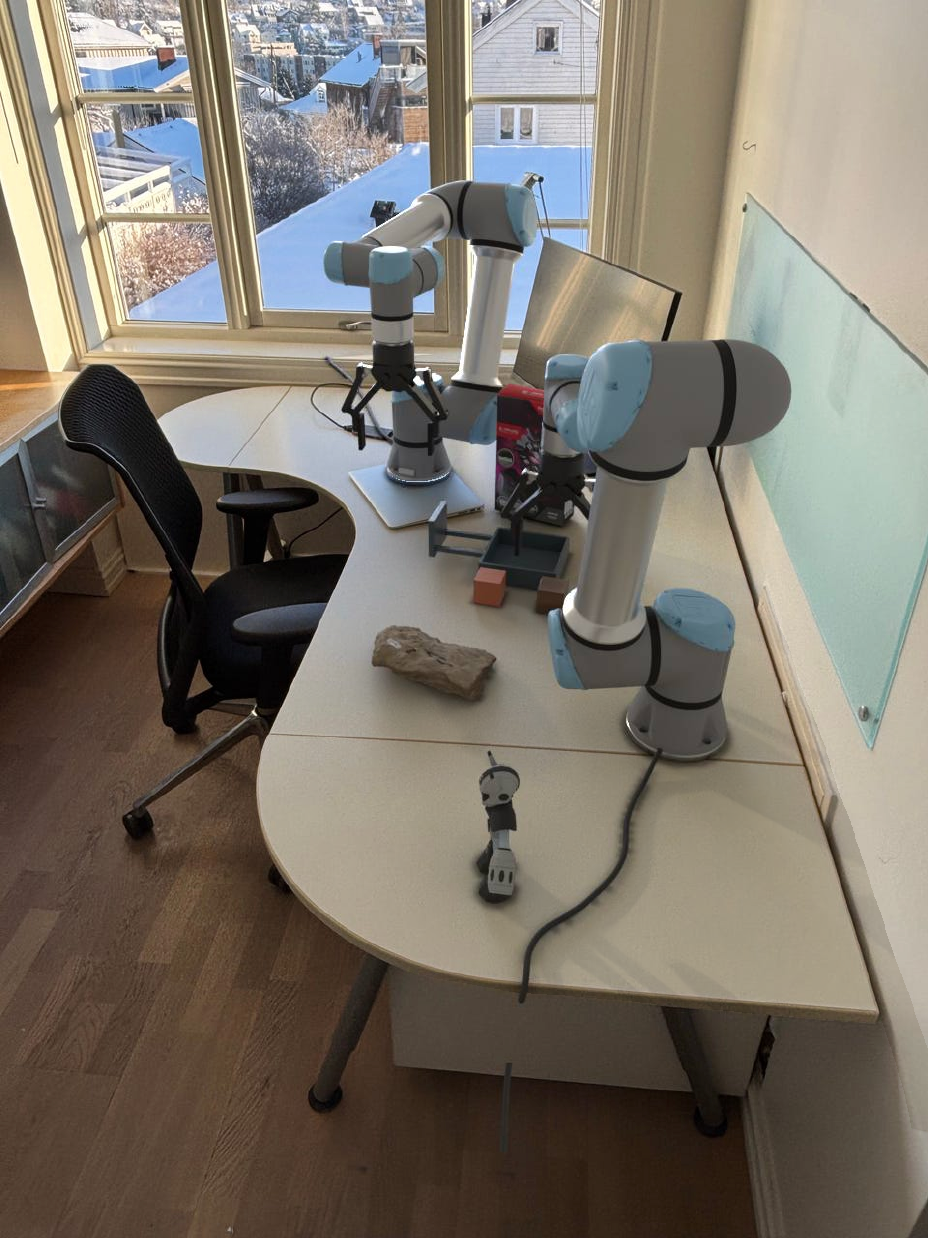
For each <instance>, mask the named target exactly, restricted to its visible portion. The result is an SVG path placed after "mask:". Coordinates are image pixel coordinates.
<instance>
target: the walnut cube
mask: <svg viewBox="0 0 928 1238" xmlns="http://www.w3.org/2000/svg"><path fill="white" fill-rule="evenodd" d="M569 587H570V579H564V578H560V579H558V578H552V577H545V576H543V577H542V579H541V582H540V585H539V587H538V590H537V589H536V606H535V613H537V614H544V615H548V613H549V612H550V611H552V610H556V609H558V608H560V609H561V610H562V609H563V604H564V601H565V599H566V597H567V596H568V594H569Z"/></svg>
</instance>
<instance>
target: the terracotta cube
mask: <svg viewBox="0 0 928 1238" xmlns="http://www.w3.org/2000/svg"><path fill="white" fill-rule="evenodd" d="M478 569H479V568H478ZM506 586H507V585H506V571H504V570H497V569H490V568H483V567H480V569H479V571H478V570H477V573H476V575H475V576H474V579H473V595H472V597H473V598H472V599H473V600H472V602H473V603H474V604H479V605H485V606H492V607H498V608H500V606H501V603H502V601H503V600H504V597H505V594H506Z"/></svg>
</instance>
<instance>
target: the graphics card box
mask: <svg viewBox="0 0 928 1238" xmlns="http://www.w3.org/2000/svg"><path fill="white" fill-rule="evenodd" d="M544 390H545V389H541V388H535V387H532V386H531V387H530V386H526V385H525V386H524V385H521V384H520V385H519V384H515V383H508V384H506V385H505V386H503V389H502V390H501V391H500V392H499V393H498V394H497V430H496V441H495V477H494V511H498V512H502V510H503V508H504V507H505V505H506V503H507V502H508V500H509V499H510V497H511V495H512V494H513V492H514V491H515V489H516V487H517V486H518V484H519V482H520V476H521V474H522V472H523V470H524V469H525V468H529V469H530V471H531V472H535V473H539V470H540V455H541V449H542V447H541V437H542V423H543V410H544ZM539 488H540V486H539V485H538V483H537V482H536V480H534V481H532V483H531V484H527V485H526V487H525V489H524V491H523V492H522V494H521V495H520V497H519V498H518V500H517V502H516V503H515V505H514V506H513V508H512V509H511V510H513V511H514V510H516V509H517V508H518V507H520V506H521V505H522V504H523V503H524V502H525V501H526V500H527V499H529V498H530V497H531V496H532V495H533V494H534V493H535V492H536V491H537V490H538V489H539ZM575 507H576V506H575V505H574V504H573V503H572V501H571V500H570V501H568V502H562V501H560V500H555V501H553V500H550V499H549V498H547V497H545V498H544V499H543V500H541V501H540V502H538V503H537V504H536V505H535V506H534V507H533V508H531V509H530V510H529V511H528V512H527V513H526V514H525V515H524V516H522V518H527V519H531V520H535V521H539V522H543V523H548V524H552V525H556V526H559V527H560V526H561V527H563V526H565V525H566V524H567V522H568V521H570V520H571V518H573V516H574V515H575Z"/></svg>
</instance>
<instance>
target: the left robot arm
mask: <svg viewBox="0 0 928 1238" xmlns="http://www.w3.org/2000/svg"><path fill="white" fill-rule="evenodd" d="M537 232H538V208H537V204H536V199H535V196H534V194H533V192H532V191H531V189H530V188H528V187H527V186H524V185H520V184H513V183H510V182H492V181H478V180H477V181H476V180H475V181H474V180H466V179H463V180H455V181H452V182H447V183H445V184H441V185H439V186H436V187H434V188H432V189H429V190H428V191H425V192H424V193H421V195H419V196H417V197H416V198H415V199H413V201H412V203H411V205H410V207H408V208H407V209H405V210H404V211H402V212H400V213H399V214H397V215H396V216H394V217H392V218H391V219H389V220H387V221H386V222H384V223H382V224H380V225H379V226H377V227H376V228H373V229H372V230H371V231H369V232H367V233H366V234H364V235H362V236H360V237H359V238H357V239H355V240H353V241H346V240H342V241H339V240H334V241H332V242H330V243H329V244H328V245H327V246H326V248H325V250H324V254H323V271H324V274H325V276H326V278H327V279H328V280H329V281H330V282H332V283H334V284H339V285H344V286H345V287H348V286H350V287H359V288H368V289H369V297H370V298H369V299H370V314H371V315H370V322H371V323H370V324H371V325H370V326H371V339H373V342H372V343H371V346H372V347H371V348H372V362H373V363H372V365H368V364H366V363H365V362H364V361H362V362H360V363H359V364H358V365H357V366H356V368H355V377H354V379H353V378H352V377H351V376H350V375H349V374H347V372H346V371H344V369H342V368H341V367H339V365H337V364H336V363H335V362H333V360H332V359H331V356H330V355H326V356H325V357H324V358H325V360H327V361H328V362H329V364H330V365H331V366H332V367H333V368H335V369H336V370H338V372H340V373H341V374H342V375H343V376H344V377H345V378H346V379H347V380H348V381H349V382H350V383H351V384H352V385H351V387H350V388H349V391H348V394H347V396H346V398H345V400H344V402H343V404H342V407H341V413H343V414H347V415H350V417H351V428H352V429H351V430H352V431H353V433H357V446H358V447H357V448H358V450H357V451H361V452H362V451H363V450H364V449H365V447H366V445H367V442H366V441H367V440H366V439H367V438H366V437H367V436H366V422H365V421H366V420H365V413H364V412H361V411H362V410H363V409H364V408H365V407H366V409H367V411H368V413H369V415H370V417H371V420H372V421H373V424H374V425H375V427H376V429H377V431H378V433H379V434H380V435H381V436H382V437H383V439H385V440H387V441H388V442H390V443H391V444H392V445H391V449H390V452H389V455H388V459H387V461H386V474H387V477H388V478H389V479H390V480H392V481H394V482H396V483H397V484H402V485H407V486H429V485H434V484H439V483H441V482H442V481H444V480H446V479H447V478H449V476H450V475H451V472H452V471H451V468H452V467H451V466H452V465H451V461H450V458H449V455H448V452H447V449H446V447H445V444H444V439H448V440H452V441H459V442H464V443H469V444H470V445H482V446H489V445H492V444H493V443H496V430H497V394H498V393H499V392H500V391H501V390H502V389H503V388H504V385H503V384H502V382H501V380H500V379H499V377H498V375H499V370H500V363H501V357H502V349H503V343H504V337H505V330H506V322H507V316H508V309H509V303H510V296H511V289H512V283H513V277H514V270H515V264H516V262H517V261H519V260H520V259H521V258H523V257H524V249H525V248H528V247H530V246H532V245H533V244H534V242H535V238H536V236H537ZM443 239H457V240H466V241H469V246H468V247H469V250H470V251H471V253H472V254H473V256H474V263H473V270H472V277H471V285H470V290H469V291H470V292H469V298H468V306H467V314H466V321H465V326H464V335H463V341H462V350H461V355H460V356H461V357H460V363H459V371H458V372H457V373H455V374H454V375H453V376H452V377H451V380H450V384H449V385H447V384H444V380H443V377H442V376H441V375H440V374H438V373H435V372H434V373H433V369H432V367H431V366H426V367H425V368H417V367H416V365H415V342H414V341H413V339H414V338H415V333H414V332H415V331H414V330H415V328H414V327H415V325H414V299H415V298H417V297H419V296H421V295H423V294H425V293H427V292H430V291H433V289H435V287H437V286H438V285H439V284H440V283H442V281H443V280H444V277H445V274H446V264H445V263H446V262H445V259H444V257H443V256H442V254H441V253H440V252H439V251H438V249H436V248H435V247H432V246H429V245H427V244H428V243H436V242H440V241H441V240H443ZM369 374H371V376H372V377H373V378H374V380H375V383H374V384H373V385H372V387H371V388H370V389H369V390H368V391H367V392H366V393H365V394H364V392H363V391H362V389H361V386H362V384H363V381H364V379H365V378H367V377H368V376H369ZM380 389H382V390H383V391H385V392H389V393H390V392H391V398H390V399H391V400H390V402H391V419H392V438H391V437H390V436H388V434H386V433H385V432H384V431H383V429H382V428H381V427H380V424H379V423H378V420H377V419H376V416H375V414H374V412H373V411H372V408H371V406H370V404H369V402H370V401H371V400H372V399H373V398H374V397H375V395H376V394H377V393H378V391H380ZM358 394H359V395H360V397H361V398H362V399H360V400H359V402H358V403H357V404H356V405H355V406H354V405H353V404H354V401H355V399H356V397H357V395H358ZM448 472H449V473H448ZM388 473H389V474H390V475H391V476H390V475H389V474H388ZM447 473H448V474H447ZM445 474H447V475H446V476H445V477H443V478H441V479H438V480H435V481H430V482H406V481H428V480H432V479H436V478H439V477H441V476H444V475H445ZM392 476H393V477H392ZM396 478H397V479H396ZM398 479H400V480H398ZM402 480H405V481H402Z"/></svg>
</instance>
